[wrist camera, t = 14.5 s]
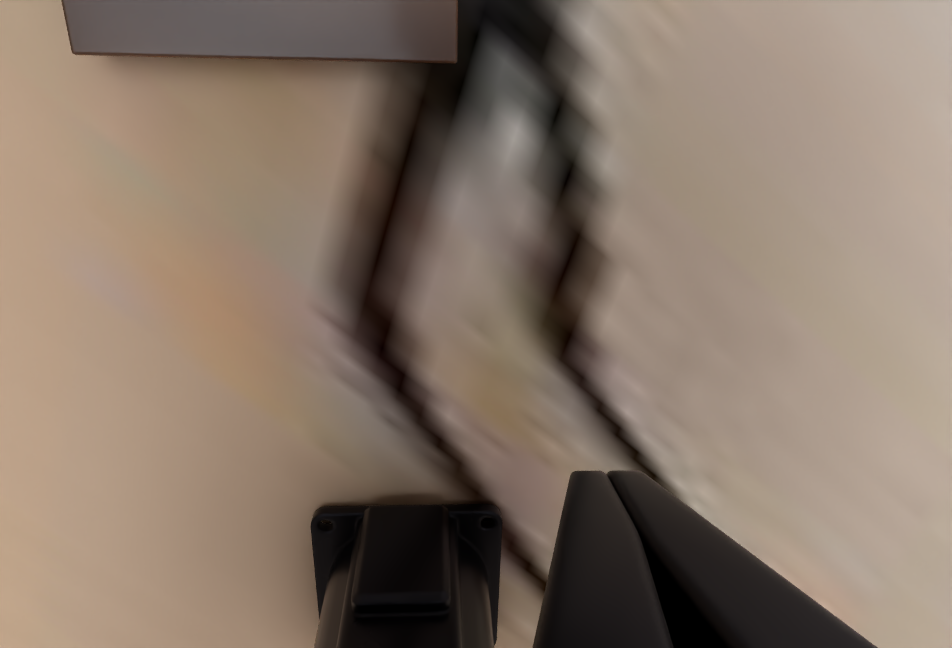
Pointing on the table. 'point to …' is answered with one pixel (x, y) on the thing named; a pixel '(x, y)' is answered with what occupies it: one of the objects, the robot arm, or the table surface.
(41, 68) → the table surface
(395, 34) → the block
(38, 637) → the table surface
